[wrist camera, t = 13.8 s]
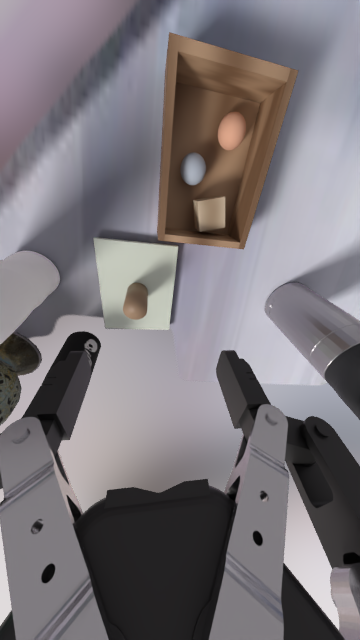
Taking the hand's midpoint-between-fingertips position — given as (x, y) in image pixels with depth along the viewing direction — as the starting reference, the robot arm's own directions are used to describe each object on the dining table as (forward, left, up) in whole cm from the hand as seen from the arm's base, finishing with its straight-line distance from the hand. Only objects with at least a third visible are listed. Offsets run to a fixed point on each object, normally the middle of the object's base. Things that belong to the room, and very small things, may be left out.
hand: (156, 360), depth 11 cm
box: (-6, -11, -24) cm, 27 cm away
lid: (+3, +7, -23) cm, 24 cm away
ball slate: (-4, -11, -23) cm, 26 cm away
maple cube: (-7, -7, -23) cm, 25 cm away
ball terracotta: (-8, -15, -23) cm, 29 cm away
